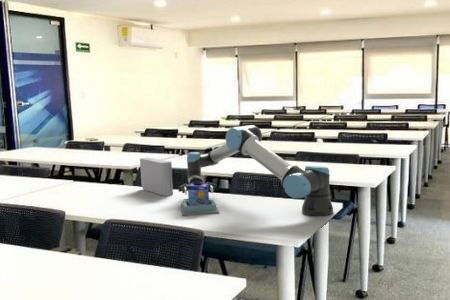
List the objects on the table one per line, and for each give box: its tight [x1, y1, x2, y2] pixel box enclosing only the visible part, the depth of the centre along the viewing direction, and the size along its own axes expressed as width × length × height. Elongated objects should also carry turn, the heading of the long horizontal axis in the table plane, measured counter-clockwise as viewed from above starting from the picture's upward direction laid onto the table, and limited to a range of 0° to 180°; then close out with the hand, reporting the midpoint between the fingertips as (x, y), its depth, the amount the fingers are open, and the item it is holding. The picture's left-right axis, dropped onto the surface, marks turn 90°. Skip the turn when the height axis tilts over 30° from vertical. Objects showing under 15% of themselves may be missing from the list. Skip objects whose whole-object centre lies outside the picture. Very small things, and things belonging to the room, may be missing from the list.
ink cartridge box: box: [187, 181, 210, 206], centre depth 256 cm, size 10×6×14 cm, turn 76°
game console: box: [139, 156, 174, 197], centre depth 301 cm, size 6×27×20 cm, turn 39°
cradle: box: [180, 199, 220, 217], centre depth 257 cm, size 20×18×4 cm
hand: (199, 191), depth 252 cm, fingers open, 13 cm apart
